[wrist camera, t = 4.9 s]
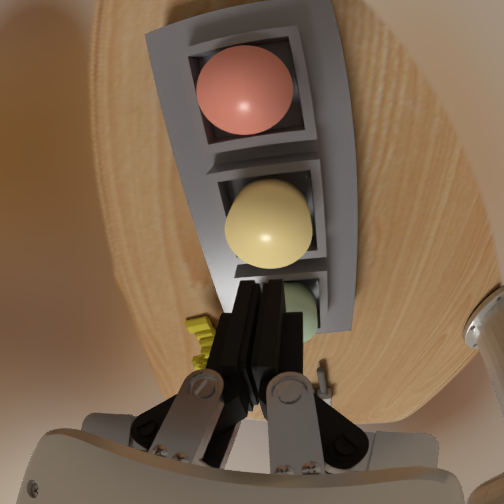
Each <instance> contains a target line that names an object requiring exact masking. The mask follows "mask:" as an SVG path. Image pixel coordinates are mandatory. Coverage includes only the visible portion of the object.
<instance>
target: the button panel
mask: <svg viewBox="0 0 504 504" xmlns="http://www.w3.org/2000/svg"><path fill="white" fill-rule="evenodd" d="M145 38H146V43H147V47H148V52H149V57H150V61H151V66H152V70H153V75H154V79H155V83H156V88H157V92H158V96H159V100H160V104H161V108H162V112H163V116H164V120H165V124H166V128H167V131H168V135H169V139H170V143H171V146H172V150H173V154H174V157H175V161H176V164H177V168H178V171H179V175H180V178H181V182H182V185H183V189H184V192H185V195H186V199H187V202H188V205H189V209H190V212H191V215H192V218H193V221H194V225H195V228H196V231H197V234H198V237H199V240H200V243H201V247H202V250H203V253H204V256H205V259H206V262H207V265H208V268H209V271H210V274H211V277H212V279H213V282H214V285H215V288H216V291H217V294H218V297H219V300H220V302H221V305H222V308H223V311H224V313H232V310H233V306H234V302H235V298H236V294H237V290H238V286H239V283H240V281H241V280H255V283H256V284H257V283H260V286H261V287H263V284H264V283H268V281H269V279H283V281H290V280H292V281H297V282H300V283H302V284H304V285H306V286H307V287H308V288H309V289H311V291H312V292H313V293H314V295H315V298H316V308H317V322H318V327H317V331H316V333H315V334H319V333H331V332H342V331H351V330H352V320H353V310H354V298H355V285H356V267H357V239H358V197H357V169H356V152H355V139H354V127H353V117H352V108H351V100H350V92H349V85H348V79H347V72H346V66H345V60H344V55H343V49H342V44H341V39H340V35H339V30H338V26H337V21H336V17H335V13H334V9H333V5H332V1H331V0H267V1H260V2H254V3H248V4H243V5H238V6H233V7H228V8H224V9H220V10H216V11H212V12H208V13H204V14H201V15H197V16H194V17H191V18H188V19H184V20H181V21H178V22H176V23H173V24H170V25H167V26H164V27H162V28H159V29H157V30H154V31H152V32H149V33H147V34H145ZM241 45H249V46H256V47H260V48H263V49H265V50H267V51H269V52H271V53H273V54H274V55H276V56H277V57H278V58H279V59H280V60H281V61H282V62H283V63H284V64H285V66H286V67H287V69H288V71H289V73H290V75H291V78H292V82H293V97H292V101H291V104H290V107H289V109H288V111H287V112H286V114H285V115H284V117H283V118H282V119H281V120H280V121H279V122H278V123H277V124H275V125H274V126H272V127H271V128H269V129H267V130H265V131H262V132H260V133H256V134H249V135H239V134H233V133H229V132H226V131H224V130H222V129H220V128H218V127H217V126H215V125H214V124H212V123H211V122H210V121H209V120H208V119H207V118H206V116H205V115H204V114H203V112H202V110H201V108H200V106H199V103H198V100H197V92H196V88H197V81H198V77H199V75H200V72H201V70H202V69H203V67H204V66H205V64H206V63H207V62H208V61H209V60H210V59H211V58H212V57H213V56H214V55H216V54H217V53H219V52H221V51H223V50H225V49H227V48H231V47H234V46H241ZM264 177H275V178H280V179H284V180H286V181H288V182H291V183H292V184H294V185H295V186H296V187H297V188H299V189H300V190H301V192H302V193H303V194H304V196H305V197H306V199H307V202H308V205H309V210H310V217H311V223H312V240H311V243H310V246H309V248H308V249H307V251H306V252H305V254H304V255H303V256H302V257H301V258H300V259H298V260H297V261H296V262H294V263H292V264H290V265H288V266H285V267H281V268H275V269H267V268H259V267H256V266H253V265H250V264H248V263H246V262H244V261H243V260H241V259H240V258H239V257H238V256H237V255H236V254H235V253H234V252H233V251H232V250H231V248H230V247H229V245H228V243H227V240H226V236H225V222H226V218H227V216H228V213H229V211H230V209H231V206H232V204H233V202H234V199H235V197H236V195H237V194H238V192H239V191H240V190H241V189H242V188H243V187H244V186H245V185H246V184H248V183H249V182H251V181H253V180H256V179H259V178H264Z"/></svg>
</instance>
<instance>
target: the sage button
mask: <svg viewBox="0 0 504 504" xmlns="http://www.w3.org/2000/svg"><path fill="white" fill-rule="evenodd" d="M283 283H284V293H285V303H286V312H303V343H304V342H306V341H308V340H309V339H311V338H312V337H313V336H314V334H315V333H316V331H317V327H318V322H317V308H316V298H315V295H314V293H313V292H312V291H311V289H309V288H308V287H307V286H306V285H304V284H302V283H300V282H297V281H292V280H290V281H283ZM262 289H263V287H261V292H262Z"/></svg>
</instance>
